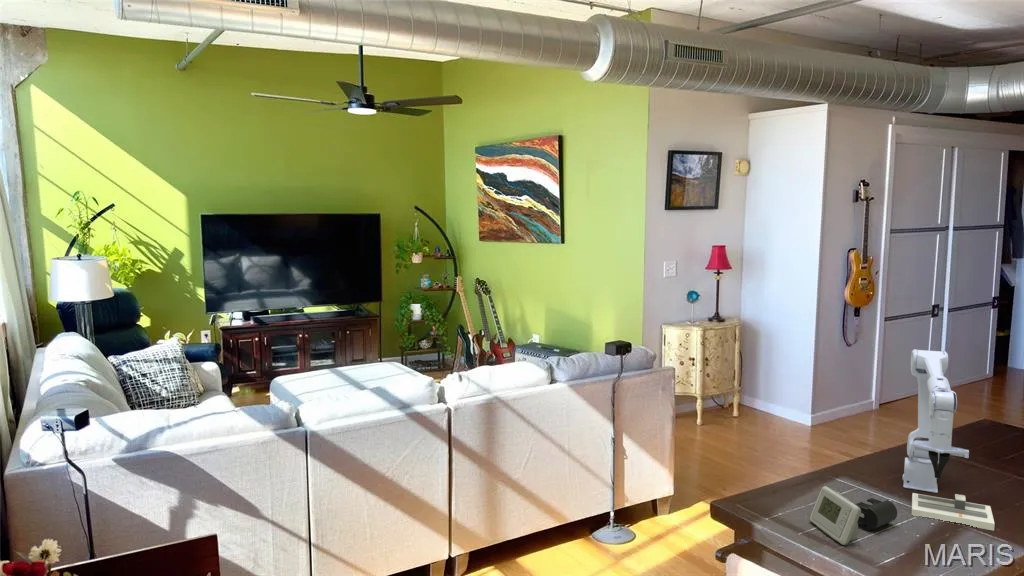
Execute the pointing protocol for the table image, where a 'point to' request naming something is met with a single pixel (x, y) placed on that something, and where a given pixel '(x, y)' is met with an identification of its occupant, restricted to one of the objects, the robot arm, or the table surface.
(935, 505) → the console
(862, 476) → the table surface
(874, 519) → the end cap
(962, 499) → the fader tab
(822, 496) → the digital clock
